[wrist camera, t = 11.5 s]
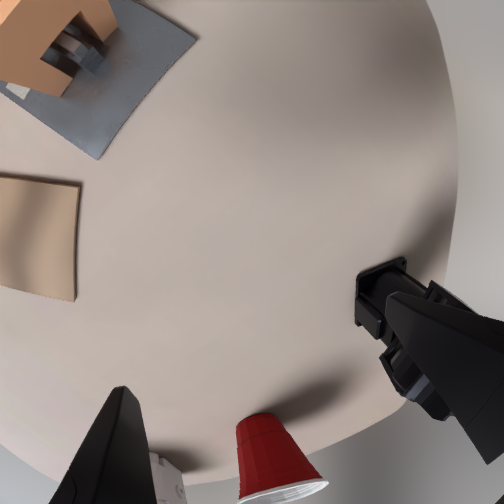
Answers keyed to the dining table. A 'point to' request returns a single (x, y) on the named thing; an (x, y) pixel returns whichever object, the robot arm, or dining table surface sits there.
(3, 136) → the dining table surface
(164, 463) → the white box
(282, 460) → the plastic cup
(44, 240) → the thin square tan tile
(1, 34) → the arched stamp block
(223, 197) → the dining table surface
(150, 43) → the grey finned plate
